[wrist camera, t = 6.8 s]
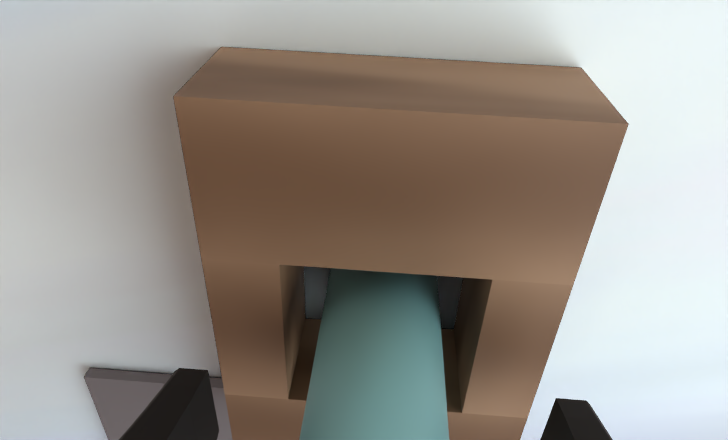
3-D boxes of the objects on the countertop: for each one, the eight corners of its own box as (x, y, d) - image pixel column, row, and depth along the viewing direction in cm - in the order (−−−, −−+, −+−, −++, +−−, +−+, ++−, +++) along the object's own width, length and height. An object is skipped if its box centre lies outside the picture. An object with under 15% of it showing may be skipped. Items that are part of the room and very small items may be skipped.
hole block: (488, 408, 18) (501, 494, 16) (260, 390, 19) (238, 471, 16) (581, 67, 12) (628, 124, 9) (221, 47, 12) (173, 96, 9)
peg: (424, 313, 16) (440, 701, 9) (326, 299, 16) (258, 678, 9) (446, 234, 14) (489, 631, 7) (337, 218, 14) (265, 603, 7)
